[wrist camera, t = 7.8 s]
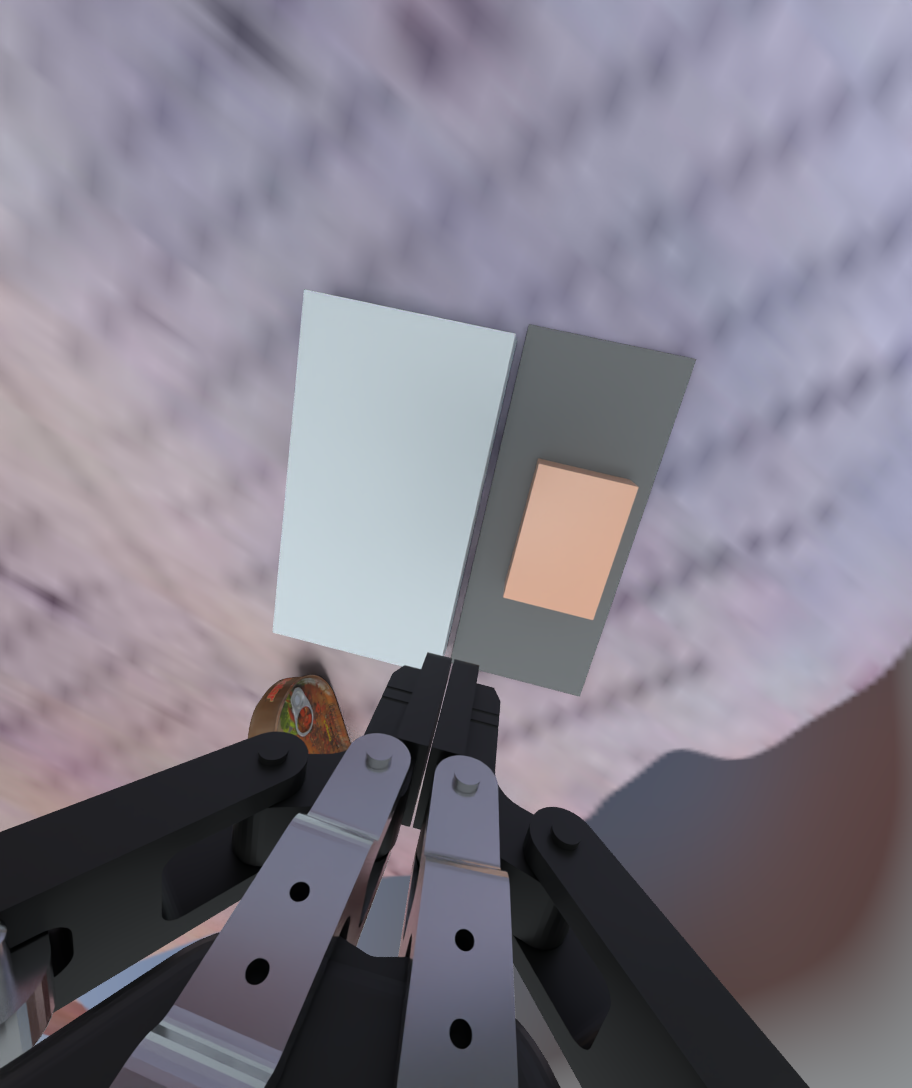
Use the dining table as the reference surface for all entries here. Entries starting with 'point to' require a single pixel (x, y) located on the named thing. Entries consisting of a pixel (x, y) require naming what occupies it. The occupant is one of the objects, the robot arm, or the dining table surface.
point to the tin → (302, 714)
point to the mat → (576, 440)
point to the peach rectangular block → (568, 538)
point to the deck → (385, 475)
